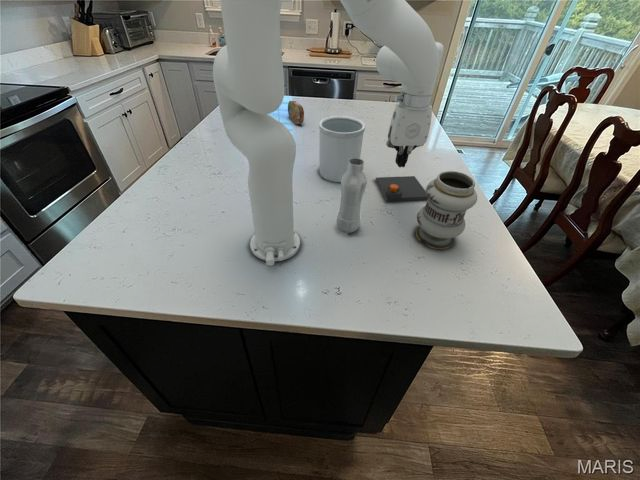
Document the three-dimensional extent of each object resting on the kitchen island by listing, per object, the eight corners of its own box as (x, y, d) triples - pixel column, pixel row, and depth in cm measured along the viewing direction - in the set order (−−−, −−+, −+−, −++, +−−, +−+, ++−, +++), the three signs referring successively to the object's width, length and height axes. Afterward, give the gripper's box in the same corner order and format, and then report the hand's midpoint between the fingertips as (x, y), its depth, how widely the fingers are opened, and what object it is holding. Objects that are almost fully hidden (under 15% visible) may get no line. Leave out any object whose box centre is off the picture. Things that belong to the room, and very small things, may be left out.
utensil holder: (323, 185, 98) (326, 134, 86) (312, 165, 109) (313, 116, 97) (364, 181, 101) (372, 130, 90) (350, 161, 112) (355, 114, 100)
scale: (428, 200, 94) (431, 192, 92) (386, 202, 92) (387, 194, 90) (413, 179, 104) (415, 171, 102) (374, 181, 102) (375, 173, 100)
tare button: (398, 192, 92) (399, 188, 91) (390, 192, 92) (391, 188, 91) (395, 188, 94) (396, 183, 93) (388, 188, 93) (389, 184, 92)
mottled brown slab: (287, 116, 146) (286, 98, 140) (293, 115, 147) (293, 97, 141) (298, 127, 136) (298, 108, 130) (305, 126, 137) (305, 107, 131)
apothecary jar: (403, 235, 80) (420, 177, 68) (425, 218, 87) (445, 161, 75) (443, 259, 74) (470, 199, 62) (464, 238, 81) (493, 180, 69)
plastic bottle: (333, 232, 80) (339, 165, 67) (339, 218, 85) (346, 153, 72) (356, 238, 79) (367, 170, 66) (361, 223, 84) (372, 157, 70)
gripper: (391, 104, 71) (379, 172, 84) (449, 103, 73) (429, 170, 85) (382, 95, 77) (372, 160, 89) (436, 94, 79) (419, 158, 91)
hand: (400, 165), depth 87 cm, fingers closed
